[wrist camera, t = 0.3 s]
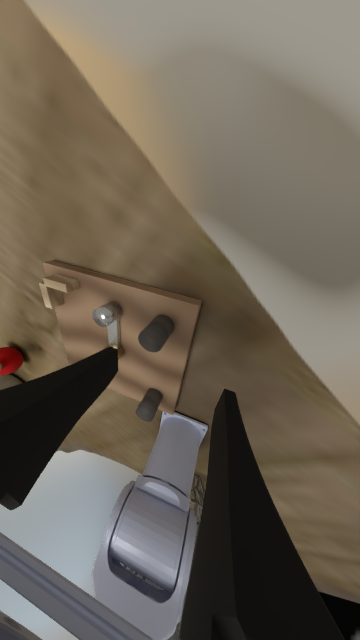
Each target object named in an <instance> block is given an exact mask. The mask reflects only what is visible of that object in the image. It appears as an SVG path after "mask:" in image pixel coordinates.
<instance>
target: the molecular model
mask: <svg viewBox="0 0 360 640" xmlns="http://www.w3.org/2000/svg"><path fill="white" fill-rule="evenodd" d="M22 363H23V355H22V353H21V352H20V351H19V350H17V349H15V348H10V347H3V348H0V375H7V374H10V373H12V372H14V371H16V370H17V369H18V368H19V367H20V366H21V365H22Z"/></svg>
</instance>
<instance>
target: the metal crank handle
mask: <svg viewBox="0 0 360 640" xmlns="http://www.w3.org/2000/svg"><path fill="white" fill-rule="evenodd" d="M121 315H122V309H121V307H120V305H119V304H117V303H116V302H114V301H110V302H108V303H106V304H104V305H102V306H100V307H99V308H97V309H95V310H94V311H93V312H92V317H93V320H94V321H95V323H96V324H98V325H99V326H101V327H107V328H108V340H109V344H108V345H107V346H106V347H105V348H108V347H113V348H116V349H118V361H119V360H120V359H121V358H122V357H123V356H124V349H123V348H122V346H121V345H120V317H121ZM105 348H104V349H105Z"/></svg>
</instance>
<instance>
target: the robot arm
mask: <svg viewBox="0 0 360 640" xmlns="http://www.w3.org/2000/svg"><path fill="white" fill-rule="evenodd" d="M117 372H118V349H116V348H113V347H108V348H105V349H103V350H101V351H99V352H97V353H95V354H93V355H91V356H89V357H87V358H85V359H82V360H80V361H78V362H76V363H74V364H72V365H69V366H67V367H65V368H62V369H60V370H58V371H55V372H53V373H50V374H48V375H45V376H42V377H39V378H37V379H34V380H31V381H28V382H25V383H21V384H18V385H15V386H12V387H8V388H5V389H2V390H0V504H1V505H3V506H4V507H6V508H7V509H9V510H13V509H15V508H17V507H19V506H21V505H22V503H23V502H24V500H25V498H26V496H27V495H28V493H29V492H30V490H31V488H32V487H33V485H34V484H35V482H36V481H37V479H38V478H39V476H40V474H41V473H42V471H43V470H44V468H45V467H46V465H47V464H48V462H49V461H50V459H51V458H52V456H53V455H54V453H55V452H56V451H57V449H58V448H59V446H60V445H61V443H62V442H63V441H64V439H65V438H66V436H67V435H68V434H69V432H70V431H71V429H72V428H73V427H74V425H75V424H76V423H77V421H78V420H79V419H80V418H81V416H82V415H83V414H84V413H85V412H86V410H87V409H88V408H89V407H90V406H91V405H92V404H93V402H94V401H95V400H96V399H97V398H98V397H99V396H100V394H101V393H102V392H103V391H104V390H105V389H106V387H107V386H108V385H109V384H110V382H111V381H112V380H113V378H114V377H115V375H116V374H117ZM207 430H208V426H207V425H206V424H203V423H201V422H198V421H196V420H193V419H191V418H189V417H186V416H184V415H181V414H179V413H176V412H174V414H173V415H171V414H168V413H166V412H163V413H162V419H161V424H160V430H159V433H158V436H157V438H156V441H155V443H154V446H153V448H152V451H151V453H150V456H149V458H148V461H147V463H146V466H145V468H144V471H143V473H142V476H141V475H138V478H137V480H136V482H135V481H131V482H130V483H129V484H128V485H126V486H125V487H124V489H123V490H122V492H121V494H120V496H119V497H118V500H117V502H116V504H115V506H114V508H113V510H112V513H111V515H110V518H109V521H108V523H107V526H106V530H105V533H104V537H103V541H102V544H101V547H100V549H99V552H98V555H97V557H96V560H95V562H94V569H93V572H92V583H93V591H94V598H93V597H92V596H91V595H89V594H88V593H86V592H85V591H83V590H82V589H81V588H79V587H77V586H76V585H75V584H73V583H72V582H71V581H69V580H68V579H66V578H65V577H63V576H62V575H60V574H59V573H57V572H56V571H55V570H53V569H52V568H51V567H49V566H47V565H46V564H45V563H43V562H42V561H41V560H39V559H38V558H36V557H34V556H33V555H32V554H30V553H29V552H28V551H26V550H25V549H23V548H22V547H20V546H19V545H18V544H16V543H15V542H13V541H12V540H10V539H9V538H8V537H6V536H5V535H3V534H2V533H0V579H1V580H2V581H3V582H5V583H6V584H7V585H9V586H10V587H12V588H13V589H14V590H15V591H16V592H18V593H19V594H21V595H22V596H23V597H24V598H26V599H27V600H28V601H30V602H31V603H32V604H34V605H35V606H36V607H38V608H39V609H40V610H41V611H43V612H44V613H45V614H47V615H48V616H49V617H50V618H52V619H53V620H54V621H56V622H57V623H58V624H60V625H61V626H62V627H64V628H65V629H66V630H67V631H69V632H70V633H71V634H73V635H74V636H75V637H77V638H78V639H79V640H167V639H168V638H169V637H171V636H172V635H173V634H174V632H175V630H176V626H177V624H178V623H179V622H180V618H181V613H182V607H183V601H184V595H185V592H186V589H187V584H188V579H189V574H190V568H191V562H192V556H193V550H194V543H195V535H196V526H197V518H196V515H195V514H194V510H193V509H191V508H190V510H189V506H190V501H191V499H190V494H191V488H192V483H193V477H194V472H195V467H196V461H197V456H198V451H199V447H200V445H201V442H202V440H203V438H204V436H205V434H206V432H207ZM188 512H189V514H188ZM120 562H121V563H122V564H124V565H126V566H127V567H129V568H131V569H132V570H134V571H135V572H137V573H139V574H140V575H142V576H143V577H145V578H147V579H148V580H150V581H151V582H153V583H155V584H156V585H158V586H160V587H161V588H163V589H164V590H160V589H157V588H156V587H154V586H153V585H151V584H149V583H148V582H146V581H145V580H143V579H141V578H140V577H138V576H137V575H135V574H133V573H132V572H130V571H129V570H127V569H125V568H124V567H123V566H122V565H121V564H120ZM180 639H181V640H344V638H343V636H342V634H341V632H340V630H339V629H338V627H337V625H336V623H335V622H334V620H333V618H332V616H331V614H330V612H329V611H328V609H327V607H326V605H325V603H324V602H323V600H322V598H321V596H320V594H319V592H318V590H317V589H316V587H315V585H314V583H313V581H312V579H311V577H310V576H309V574H308V572H307V570H306V568H305V566H304V564H303V562H302V560H301V558H300V556H299V554H298V552H297V550H296V549H295V547H294V545H293V542H292V540H291V538H290V536H289V534H288V532H287V530H286V528H285V526H284V524H283V522H282V520H281V518H280V516H279V514H278V512H277V509H276V507H275V505H274V503H273V501H272V498H271V496H270V494H269V492H268V489H267V487H266V485H265V482H264V480H263V478H262V475H261V473H260V470H259V468H258V465H257V462H256V460H255V457H254V454H253V452H252V449H251V446H250V443H249V440H248V437H247V434H246V431H245V428H244V424H243V421H242V417H241V414H240V410H239V406H238V402H237V397H236V394H235V392H232V391H229V390H227V389H224V391H223V393H222V395H221V397H220V399H219V401H218V404H217V406H216V408H215V411H214V417H213V422H212V429H211V440H210V452H209V464H208V475H207V483H206V490H205V496H204V502H203V508H202V514H201V520H200V526H199V532H198V537H197V543H196V548H195V554H194V559H193V565H192V570H191V575H190V581H189V586H188V591H187V596H186V601H185V606H184V611H183V617H182V624H181V631H180ZM0 640H42V639H41V638H39V637H38V636H37V635H35V634H34V633H32V632H31V631H29V630H28V629H27V628H25V627H24V626H22V625H21V624H19V623H18V622H16V621H15V620H13V619H12V618H10V617H9V616H7V615H6V614H4V613H2V612H1V611H0Z"/></svg>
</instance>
